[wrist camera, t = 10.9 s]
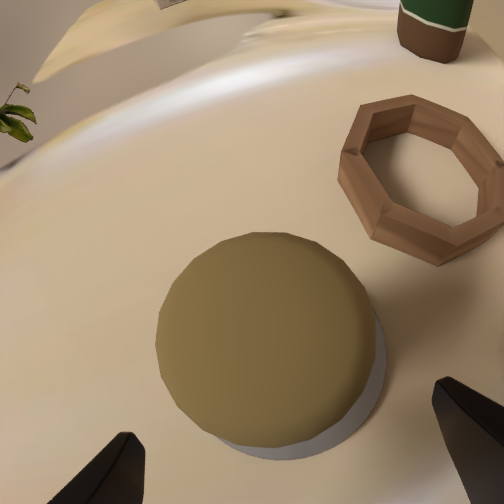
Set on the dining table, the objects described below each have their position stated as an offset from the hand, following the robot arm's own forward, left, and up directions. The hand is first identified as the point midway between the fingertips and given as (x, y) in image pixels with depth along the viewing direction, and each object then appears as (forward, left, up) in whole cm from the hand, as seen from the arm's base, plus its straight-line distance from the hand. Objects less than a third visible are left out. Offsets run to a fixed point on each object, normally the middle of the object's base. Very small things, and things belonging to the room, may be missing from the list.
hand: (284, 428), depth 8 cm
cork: (+2, 0, -8) cm, 8 cm away
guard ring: (+10, -13, -8) cm, 19 cm away
